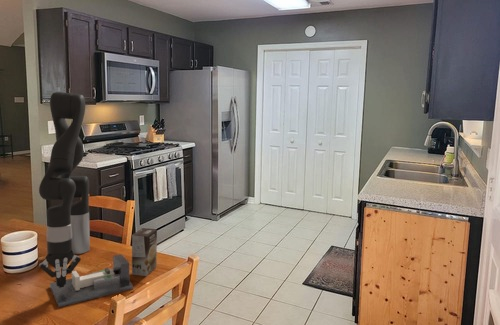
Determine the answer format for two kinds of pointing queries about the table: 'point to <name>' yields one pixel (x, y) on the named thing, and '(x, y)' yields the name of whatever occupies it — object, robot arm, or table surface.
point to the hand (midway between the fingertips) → (61, 286)
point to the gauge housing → (95, 285)
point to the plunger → (88, 278)
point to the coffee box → (144, 251)
